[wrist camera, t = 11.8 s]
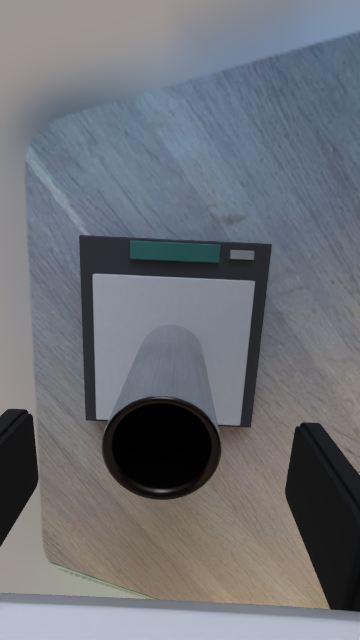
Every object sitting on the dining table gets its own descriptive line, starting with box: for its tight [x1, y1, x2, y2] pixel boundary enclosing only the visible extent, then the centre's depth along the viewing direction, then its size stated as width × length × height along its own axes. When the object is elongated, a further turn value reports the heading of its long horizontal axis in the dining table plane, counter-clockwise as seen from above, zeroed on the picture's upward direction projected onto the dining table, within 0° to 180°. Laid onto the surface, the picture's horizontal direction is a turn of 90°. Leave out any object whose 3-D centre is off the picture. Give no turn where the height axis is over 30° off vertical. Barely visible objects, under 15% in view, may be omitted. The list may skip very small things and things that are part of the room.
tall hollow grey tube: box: [102, 325, 221, 500], centre depth 16 cm, size 4×4×10 cm
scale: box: [79, 235, 272, 427], centre depth 22 cm, size 14×13×3 cm
